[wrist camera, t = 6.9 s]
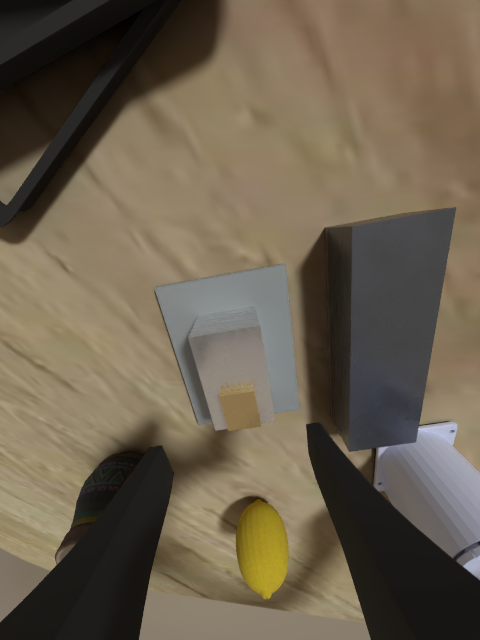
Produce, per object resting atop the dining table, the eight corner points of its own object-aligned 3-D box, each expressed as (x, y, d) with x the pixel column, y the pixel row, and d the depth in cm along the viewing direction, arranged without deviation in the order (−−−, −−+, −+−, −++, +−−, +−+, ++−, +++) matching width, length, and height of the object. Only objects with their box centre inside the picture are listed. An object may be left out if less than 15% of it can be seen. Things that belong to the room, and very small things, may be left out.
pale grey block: (267, 386, 20) (276, 428, 16) (218, 394, 21) (214, 437, 16) (254, 305, 17) (261, 329, 13) (197, 315, 18) (186, 342, 13)
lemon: (281, 510, 28) (298, 609, 21) (238, 514, 29) (240, 614, 21) (278, 482, 26) (296, 581, 19) (232, 487, 26) (231, 587, 19)
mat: (297, 405, 22) (299, 409, 21) (199, 420, 22) (198, 424, 22) (283, 263, 17) (285, 264, 16) (156, 286, 17) (154, 288, 17)
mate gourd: (117, 491, 26) (54, 631, 17) (85, 448, 24) (-10, 586, 14) (174, 480, 26) (140, 617, 17) (148, 434, 23) (90, 569, 14)
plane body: (385, 407, 22) (415, 442, 19) (330, 415, 23) (349, 451, 19) (403, 213, 16) (456, 207, 12) (324, 227, 16) (352, 226, 12)
